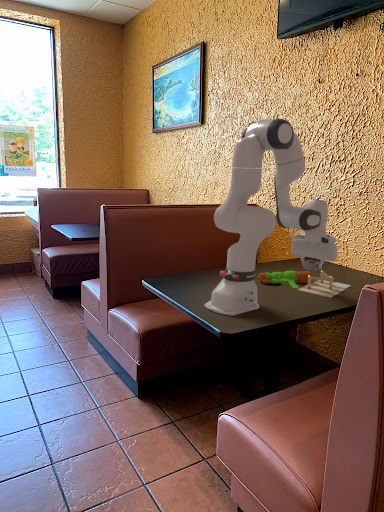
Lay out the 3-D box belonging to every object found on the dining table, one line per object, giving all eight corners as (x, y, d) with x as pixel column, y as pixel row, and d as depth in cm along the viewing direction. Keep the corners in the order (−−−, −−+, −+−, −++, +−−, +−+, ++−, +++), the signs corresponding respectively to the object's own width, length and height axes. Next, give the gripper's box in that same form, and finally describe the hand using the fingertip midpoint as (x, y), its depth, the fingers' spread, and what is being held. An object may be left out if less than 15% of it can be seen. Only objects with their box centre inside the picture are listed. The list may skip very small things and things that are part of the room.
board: (329, 300, 159) (330, 297, 159) (296, 292, 168) (297, 289, 168) (350, 288, 177) (350, 286, 177) (319, 281, 187) (319, 279, 187)
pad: (345, 289, 172) (345, 288, 172) (330, 285, 176) (330, 285, 176) (350, 286, 177) (350, 285, 177) (336, 282, 182) (336, 282, 182)
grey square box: (314, 270, 164) (315, 264, 164) (302, 268, 168) (303, 261, 167) (319, 268, 169) (320, 262, 168) (308, 266, 172) (308, 260, 171)
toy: (317, 283, 168) (310, 268, 182) (260, 283, 171) (258, 268, 184) (315, 296, 171) (309, 280, 185) (260, 295, 173) (257, 280, 187)
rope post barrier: (325, 293, 164) (326, 279, 163) (305, 288, 170) (307, 275, 169) (338, 286, 176) (340, 273, 175) (320, 281, 182) (321, 269, 181)
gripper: (289, 234, 169) (287, 264, 172) (334, 240, 156) (331, 272, 159) (296, 233, 174) (293, 262, 177) (340, 239, 161) (336, 270, 164)
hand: (311, 267), depth 168 cm, fingers closed on grey square box, 5 cm apart
